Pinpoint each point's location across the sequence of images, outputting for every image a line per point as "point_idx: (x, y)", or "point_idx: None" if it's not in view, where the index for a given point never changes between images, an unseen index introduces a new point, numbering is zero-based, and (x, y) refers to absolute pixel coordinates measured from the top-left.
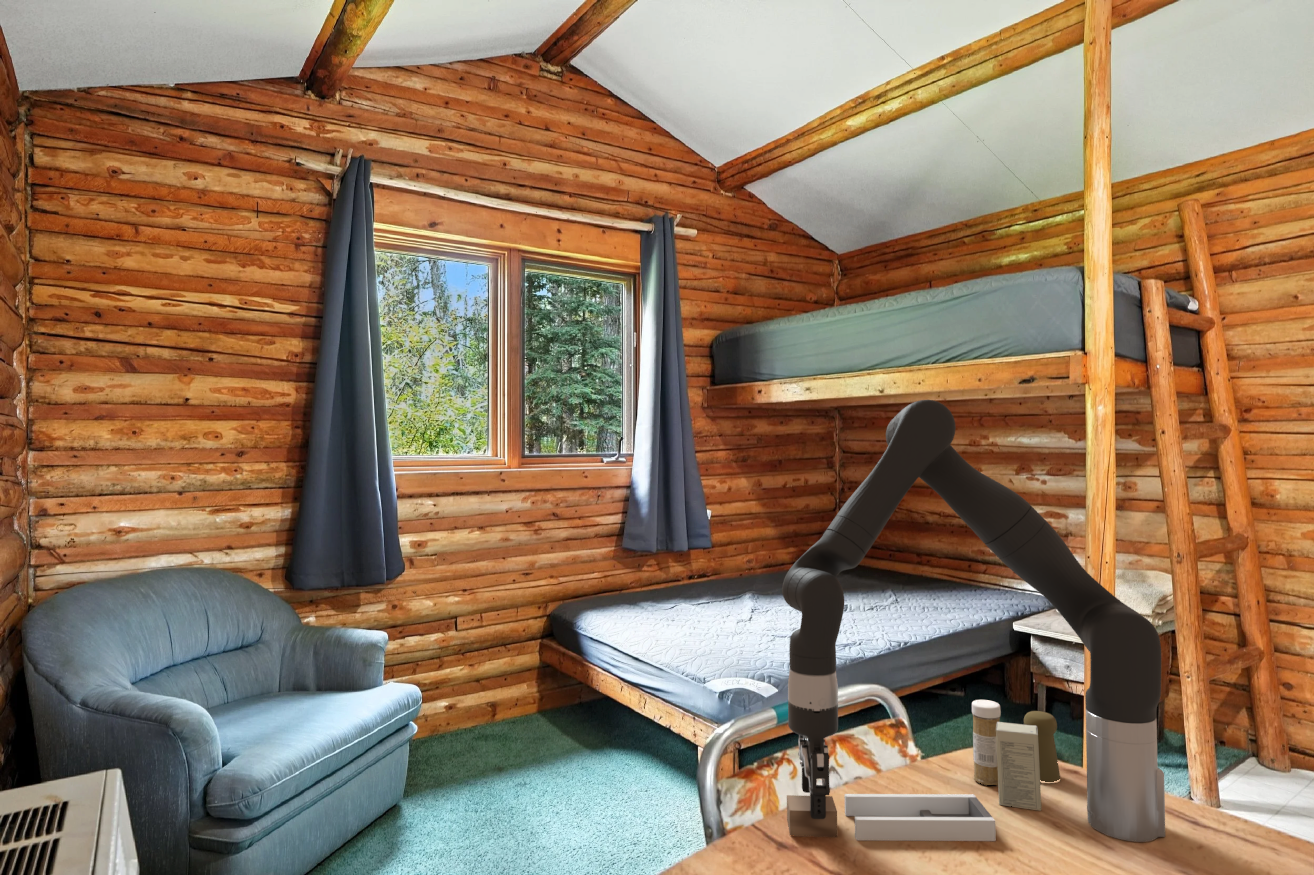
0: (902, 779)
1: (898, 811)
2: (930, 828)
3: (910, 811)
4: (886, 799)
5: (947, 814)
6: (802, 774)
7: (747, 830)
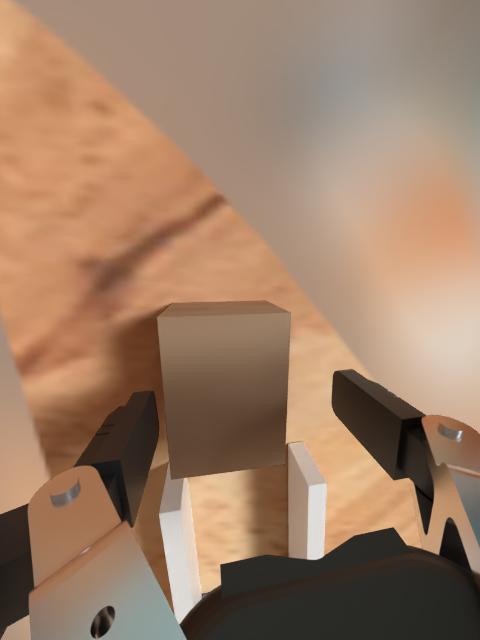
0: None
1: (291, 552)
2: None
3: None
4: None
5: None
6: (380, 403)
7: (191, 170)
